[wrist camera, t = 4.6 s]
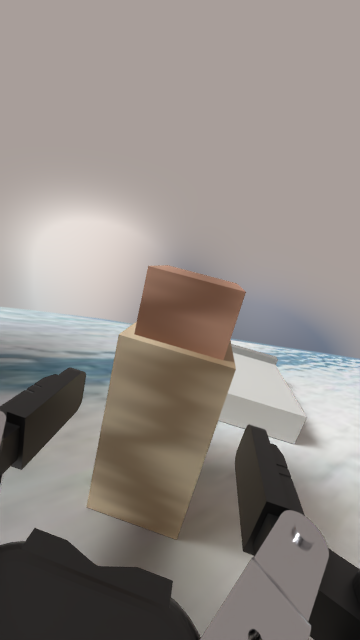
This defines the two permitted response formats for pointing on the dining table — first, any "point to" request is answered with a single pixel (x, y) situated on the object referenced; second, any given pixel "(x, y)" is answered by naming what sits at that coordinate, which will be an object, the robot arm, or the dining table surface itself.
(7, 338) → the dining table surface
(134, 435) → the beige tall block
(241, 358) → the dock
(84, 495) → the dining table surface
